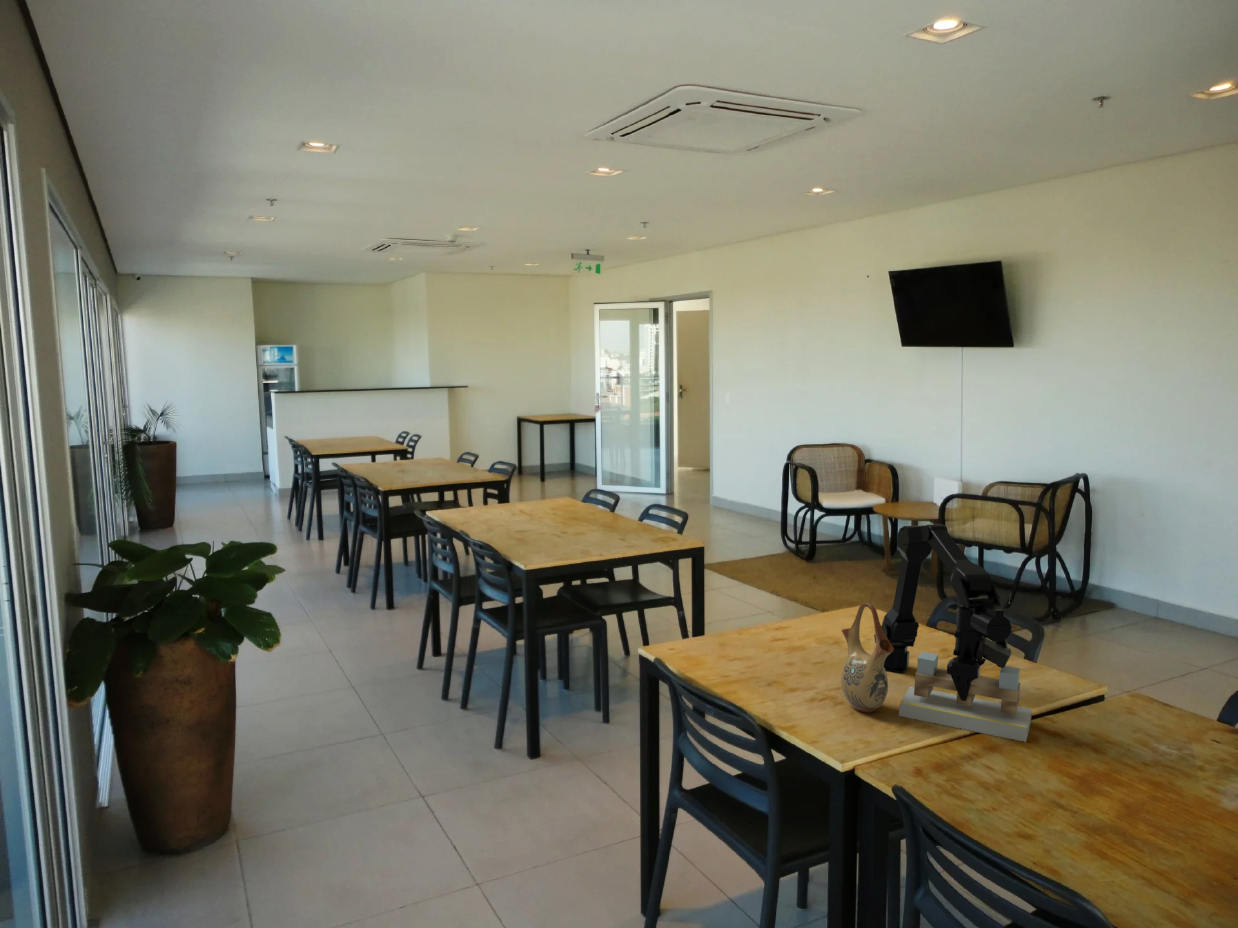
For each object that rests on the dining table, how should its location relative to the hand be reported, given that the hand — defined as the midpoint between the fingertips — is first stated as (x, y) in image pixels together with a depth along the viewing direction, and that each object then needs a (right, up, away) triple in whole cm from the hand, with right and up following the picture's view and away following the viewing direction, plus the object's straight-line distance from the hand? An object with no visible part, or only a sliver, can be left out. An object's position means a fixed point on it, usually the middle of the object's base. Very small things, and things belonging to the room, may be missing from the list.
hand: (965, 695), depth 194 cm
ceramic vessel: (-21, -5, +6) cm, 23 cm away
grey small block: (-7, +5, +4) cm, 9 cm away
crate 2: (+8, +3, -5) cm, 9 cm away
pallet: (0, -1, 0) cm, 1 cm away
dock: (0, -5, +1) cm, 5 cm away
